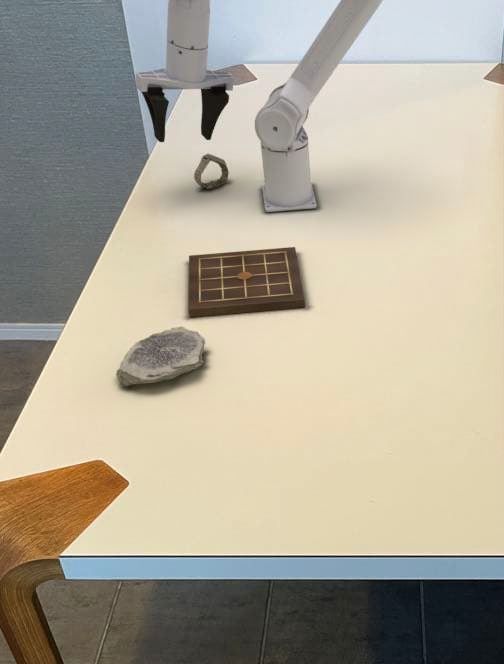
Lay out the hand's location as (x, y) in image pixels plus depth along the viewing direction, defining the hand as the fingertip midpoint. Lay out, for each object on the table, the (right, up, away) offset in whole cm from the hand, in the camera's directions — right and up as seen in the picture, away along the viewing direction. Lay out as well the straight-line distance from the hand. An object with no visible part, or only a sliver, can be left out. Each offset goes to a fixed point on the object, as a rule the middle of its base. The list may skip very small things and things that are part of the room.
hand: (183, 138), depth 131 cm
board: (+12, -27, -15) cm, 33 cm away
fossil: (+5, -41, -29) cm, 50 cm away
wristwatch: (+3, -4, +9) cm, 10 cm away
